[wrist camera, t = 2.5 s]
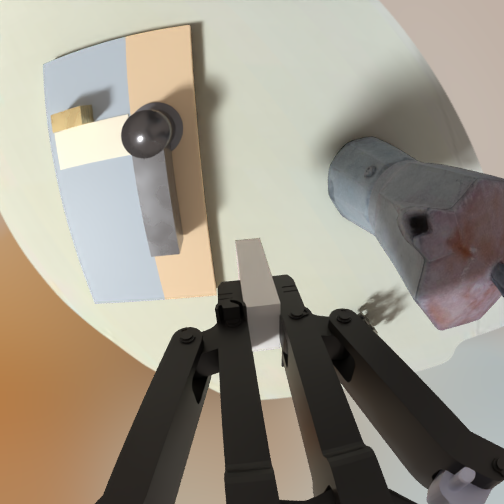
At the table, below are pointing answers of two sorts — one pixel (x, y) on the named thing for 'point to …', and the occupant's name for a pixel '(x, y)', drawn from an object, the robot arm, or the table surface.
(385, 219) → the moka pot
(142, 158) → the latch bar
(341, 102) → the table surface
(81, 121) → the block
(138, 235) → the door panel
